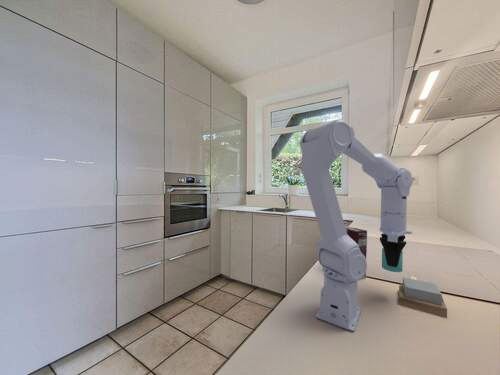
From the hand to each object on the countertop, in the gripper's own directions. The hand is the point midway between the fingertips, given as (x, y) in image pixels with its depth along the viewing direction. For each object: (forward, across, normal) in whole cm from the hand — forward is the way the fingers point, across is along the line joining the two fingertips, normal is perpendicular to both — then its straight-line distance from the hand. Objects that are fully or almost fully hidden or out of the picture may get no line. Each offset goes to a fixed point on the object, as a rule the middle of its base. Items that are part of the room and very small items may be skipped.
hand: (392, 263), depth 57 cm
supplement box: (+10, +10, +12) cm, 19 cm away
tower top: (+8, +2, -6) cm, 10 cm away
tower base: (+10, +2, -6) cm, 12 cm away
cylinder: (+2, 0, 0) cm, 2 cm away
